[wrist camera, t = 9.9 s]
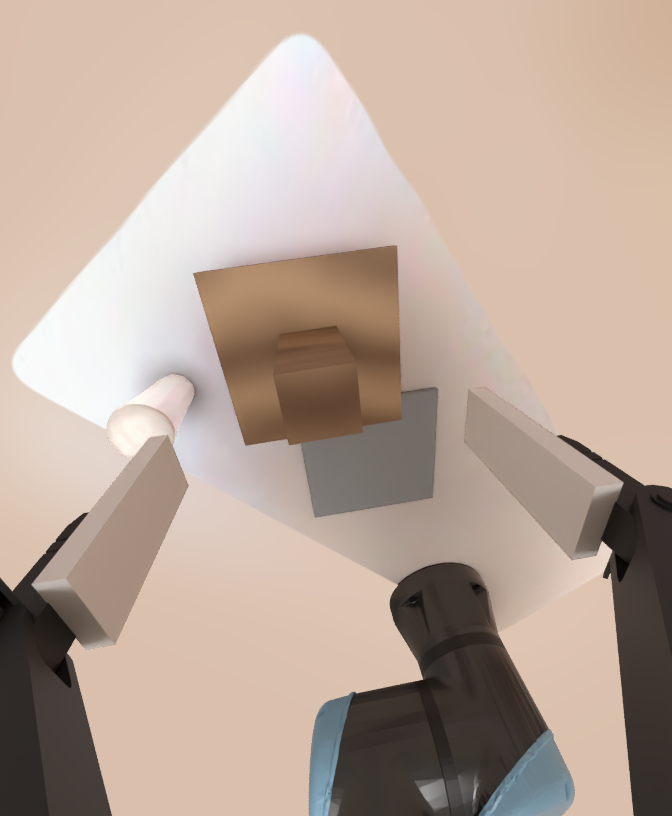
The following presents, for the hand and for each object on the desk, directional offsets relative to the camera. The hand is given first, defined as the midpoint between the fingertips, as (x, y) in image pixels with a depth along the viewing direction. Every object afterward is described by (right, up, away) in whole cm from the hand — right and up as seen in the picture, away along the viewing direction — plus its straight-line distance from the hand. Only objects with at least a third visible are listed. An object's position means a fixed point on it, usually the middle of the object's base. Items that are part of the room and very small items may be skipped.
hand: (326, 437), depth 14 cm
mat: (+4, -4, +23) cm, 23 cm away
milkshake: (-15, +3, +17) cm, 22 cm away
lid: (-1, +6, +10) cm, 12 cm away
